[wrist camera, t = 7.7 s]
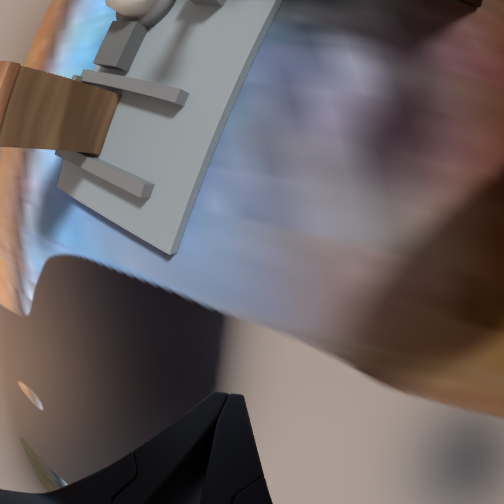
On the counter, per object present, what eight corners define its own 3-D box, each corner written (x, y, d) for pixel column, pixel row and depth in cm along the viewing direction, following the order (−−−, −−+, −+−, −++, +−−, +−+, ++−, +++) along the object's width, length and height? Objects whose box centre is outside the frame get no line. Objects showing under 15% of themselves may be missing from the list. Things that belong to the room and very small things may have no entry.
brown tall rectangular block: (122, 93, 21) (10, 61, 11) (100, 155, 23) (-16, 148, 13) (97, 88, 22) (-7, 61, 12) (78, 145, 23) (-30, 138, 13)
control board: (308, -47, 16) (297, -82, 12) (176, 252, 23) (140, 264, 19) (168, -52, 19) (144, -74, 15) (63, 186, 26) (26, 187, 22)
